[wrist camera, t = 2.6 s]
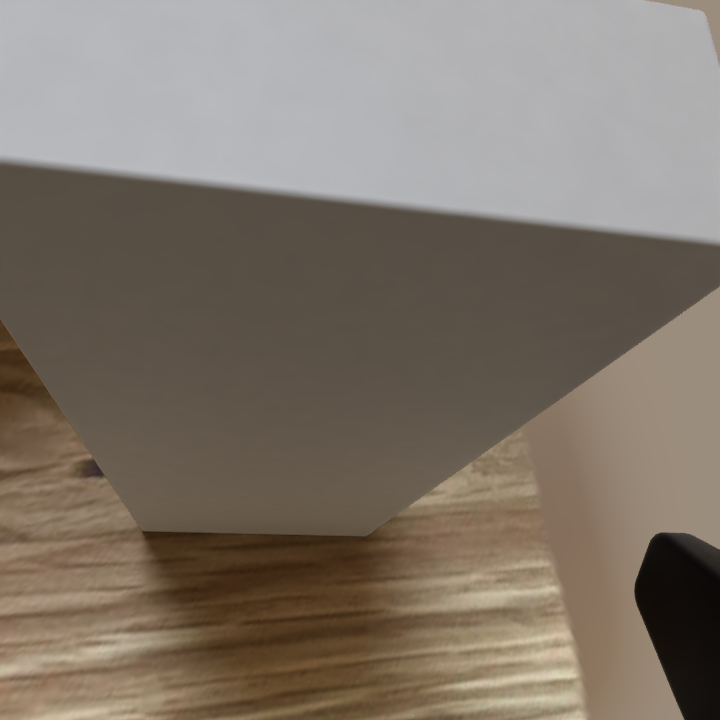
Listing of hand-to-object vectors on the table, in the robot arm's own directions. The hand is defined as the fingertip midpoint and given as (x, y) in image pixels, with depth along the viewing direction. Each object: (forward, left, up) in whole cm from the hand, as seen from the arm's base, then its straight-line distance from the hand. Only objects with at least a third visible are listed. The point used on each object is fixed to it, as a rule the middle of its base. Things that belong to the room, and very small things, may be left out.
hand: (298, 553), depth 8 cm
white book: (+3, -1, -10) cm, 11 cm away
